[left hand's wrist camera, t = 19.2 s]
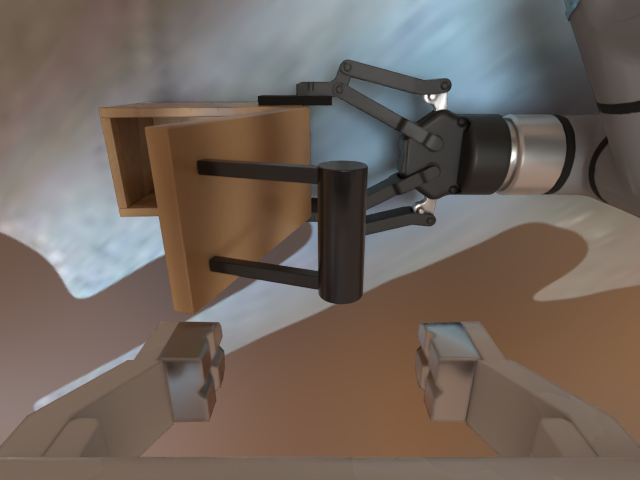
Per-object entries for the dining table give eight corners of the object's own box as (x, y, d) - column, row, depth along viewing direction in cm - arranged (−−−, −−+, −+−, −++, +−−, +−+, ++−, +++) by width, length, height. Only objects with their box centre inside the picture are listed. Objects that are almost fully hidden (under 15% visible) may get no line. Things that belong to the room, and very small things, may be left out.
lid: (173, 311, 20) (349, 348, 17) (143, 126, 17) (355, 134, 14) (298, 215, 35) (405, 226, 32) (296, 106, 32) (415, 108, 29)
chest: (159, 188, 45) (120, 216, 35) (146, 102, 42) (97, 108, 32) (304, 186, 46) (305, 213, 36) (303, 101, 42) (303, 106, 32)
